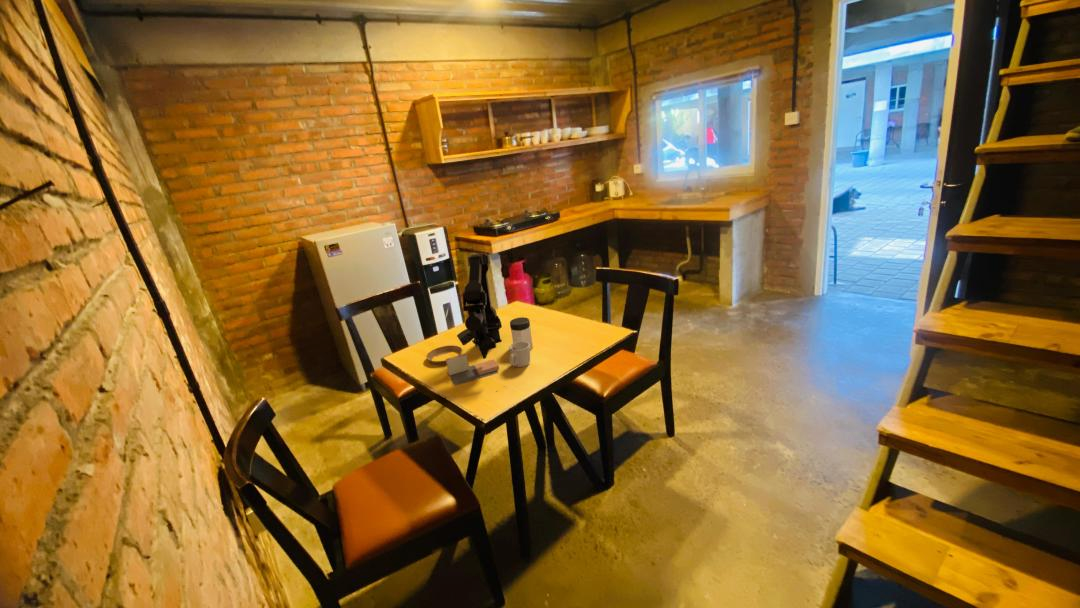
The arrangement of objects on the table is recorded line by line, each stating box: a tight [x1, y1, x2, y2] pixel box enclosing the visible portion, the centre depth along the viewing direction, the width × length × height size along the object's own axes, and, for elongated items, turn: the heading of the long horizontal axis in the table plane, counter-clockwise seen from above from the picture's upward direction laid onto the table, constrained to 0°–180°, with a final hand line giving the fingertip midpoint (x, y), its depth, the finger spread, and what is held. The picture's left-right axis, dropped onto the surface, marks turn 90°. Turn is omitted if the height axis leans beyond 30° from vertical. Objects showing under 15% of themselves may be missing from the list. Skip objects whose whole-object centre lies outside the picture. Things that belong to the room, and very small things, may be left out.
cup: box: [508, 341, 531, 368], centre depth 173 cm, size 11×8×8 cm
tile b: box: [445, 353, 470, 376], centre depth 174 cm, size 8×2×6 cm, turn 113°
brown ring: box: [425, 345, 463, 365], centre depth 188 cm, size 15×15×3 cm
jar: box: [509, 316, 534, 350], centre depth 188 cm, size 9×8×12 cm
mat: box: [448, 364, 499, 387], centre depth 173 cm, size 17×12×1 cm
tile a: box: [473, 358, 500, 375], centre depth 174 cm, size 8×2×6 cm
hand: (484, 358), depth 174 cm, fingers closed
